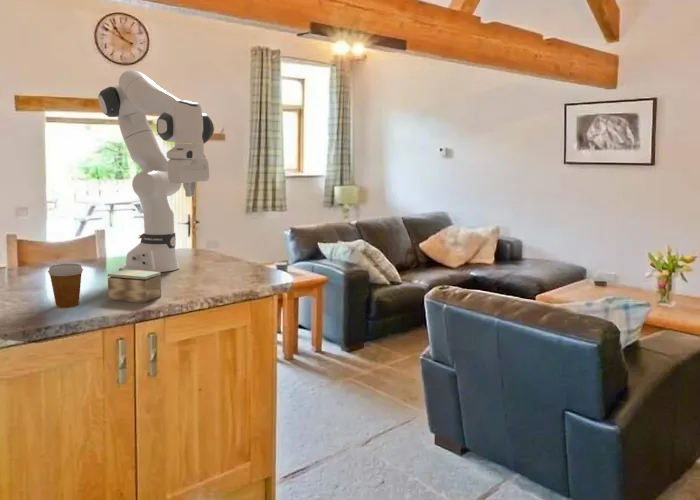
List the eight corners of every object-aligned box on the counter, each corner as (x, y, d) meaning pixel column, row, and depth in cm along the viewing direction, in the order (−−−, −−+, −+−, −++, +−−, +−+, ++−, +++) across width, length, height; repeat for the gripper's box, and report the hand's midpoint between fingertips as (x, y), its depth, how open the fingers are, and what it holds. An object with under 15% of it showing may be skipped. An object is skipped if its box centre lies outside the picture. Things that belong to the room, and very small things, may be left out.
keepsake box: (108, 299, 194) (107, 277, 193) (125, 293, 202) (124, 272, 201) (145, 303, 191) (145, 280, 190) (161, 296, 200) (160, 275, 198)
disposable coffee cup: (73, 299, 193) (71, 261, 191) (91, 304, 188) (89, 265, 186) (43, 305, 185) (41, 266, 183) (61, 311, 180) (59, 270, 178)
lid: (107, 276, 193) (107, 273, 192) (124, 271, 201) (124, 269, 201) (144, 279, 190) (144, 276, 189) (160, 274, 198) (160, 272, 198)
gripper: (196, 152, 207) (197, 193, 209) (163, 152, 187) (164, 198, 189) (213, 152, 205) (214, 194, 207) (182, 153, 186) (183, 199, 188)
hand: (190, 196), depth 198 cm, fingers closed
